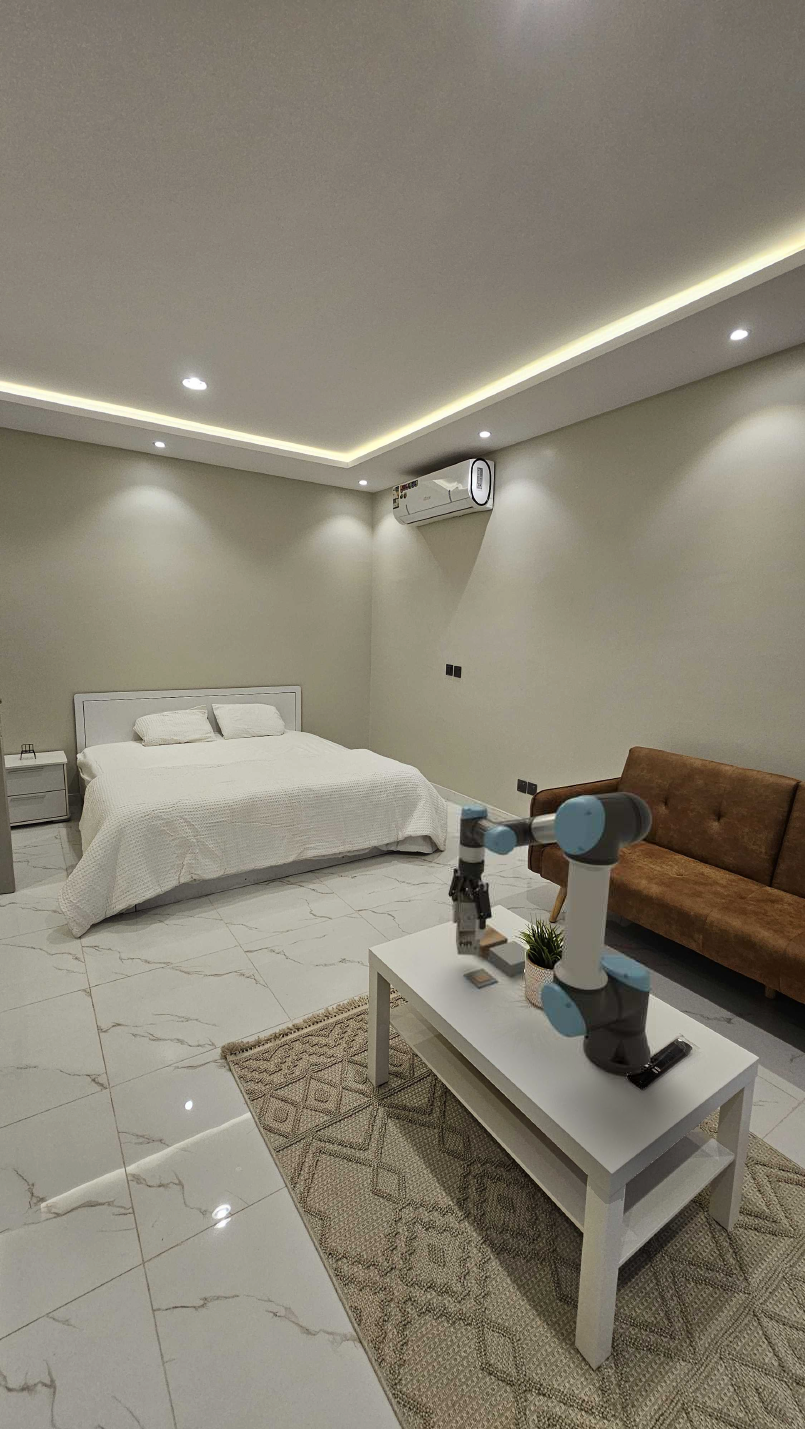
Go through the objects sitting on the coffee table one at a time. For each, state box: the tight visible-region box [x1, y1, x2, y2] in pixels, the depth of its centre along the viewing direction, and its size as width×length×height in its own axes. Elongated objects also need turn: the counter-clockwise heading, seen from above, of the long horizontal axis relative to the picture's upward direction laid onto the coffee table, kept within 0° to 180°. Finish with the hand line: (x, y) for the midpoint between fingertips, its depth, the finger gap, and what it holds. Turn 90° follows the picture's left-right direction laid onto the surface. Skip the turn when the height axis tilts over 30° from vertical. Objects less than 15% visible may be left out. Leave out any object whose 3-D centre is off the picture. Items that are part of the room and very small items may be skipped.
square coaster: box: [463, 968, 499, 989], centre depth 173 cm, size 7×7×1 cm
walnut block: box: [477, 923, 509, 959], centre depth 190 cm, size 10×10×4 cm
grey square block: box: [487, 940, 527, 979], centre depth 180 cm, size 10×10×4 cm
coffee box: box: [455, 888, 482, 956], centre depth 177 cm, size 9×6×16 cm
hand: (467, 930), depth 177 cm, fingers closed on coffee box, 10 cm apart
